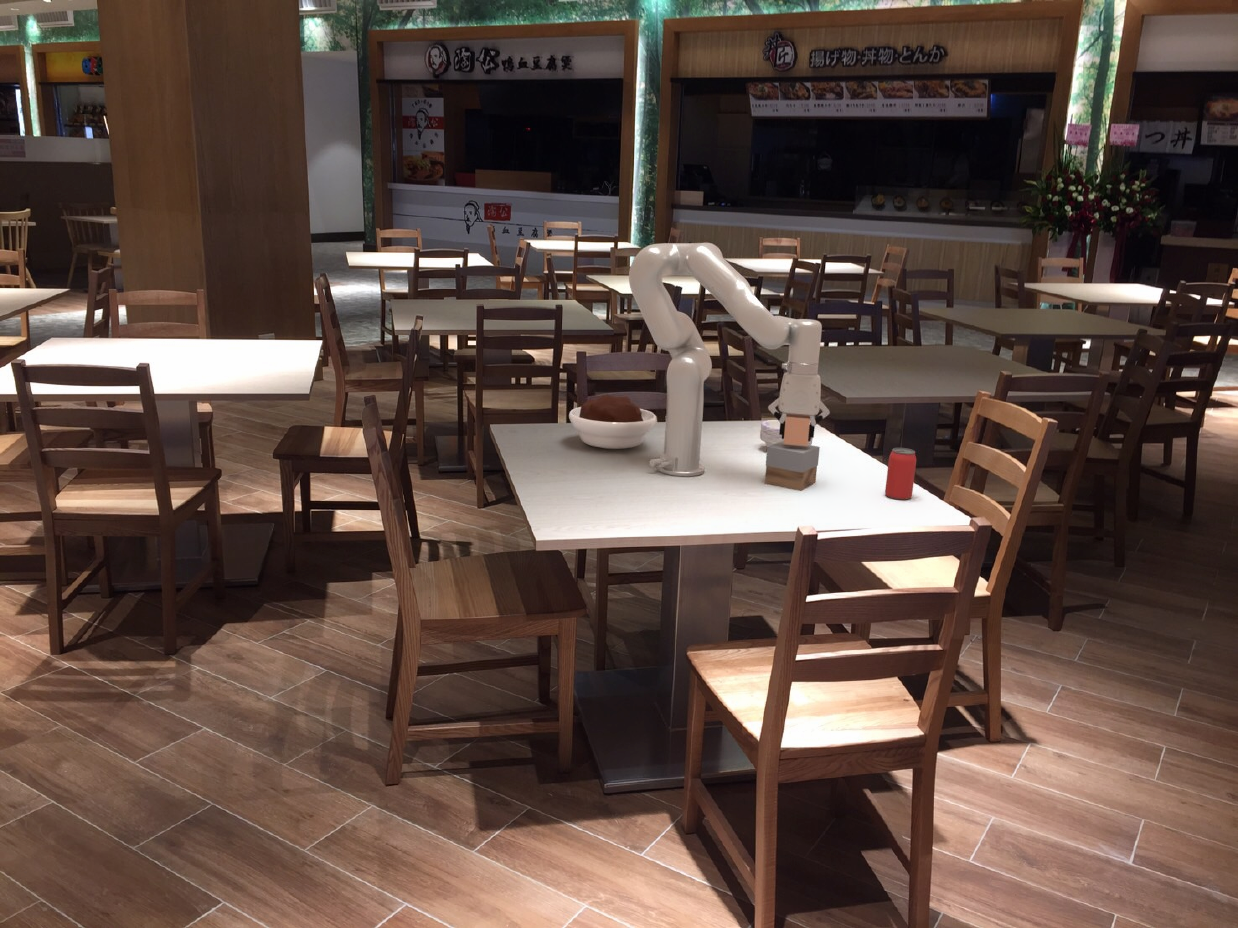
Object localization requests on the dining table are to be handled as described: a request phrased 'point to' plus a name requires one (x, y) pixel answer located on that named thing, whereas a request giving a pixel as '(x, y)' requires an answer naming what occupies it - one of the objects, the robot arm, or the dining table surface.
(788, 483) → the walnut slab
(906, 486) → the beer can
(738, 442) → the dining table surface
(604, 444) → the bowl of brown food
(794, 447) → the slate slab
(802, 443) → the terracotta block
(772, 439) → the paper bowls
